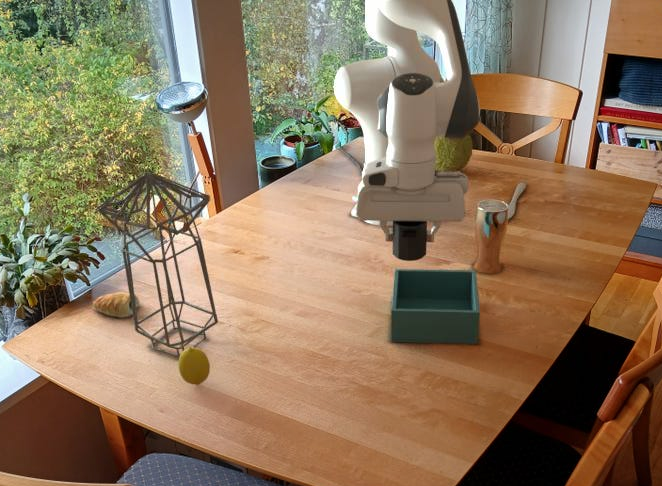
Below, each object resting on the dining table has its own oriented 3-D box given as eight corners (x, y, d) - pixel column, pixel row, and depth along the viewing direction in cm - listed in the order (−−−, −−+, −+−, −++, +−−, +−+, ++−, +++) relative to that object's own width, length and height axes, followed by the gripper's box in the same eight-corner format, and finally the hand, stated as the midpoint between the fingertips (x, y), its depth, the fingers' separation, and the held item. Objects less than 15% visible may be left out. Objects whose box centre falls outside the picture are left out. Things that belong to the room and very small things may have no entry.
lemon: (183, 376, 138) (176, 340, 133) (213, 374, 138) (207, 338, 133) (180, 394, 133) (173, 358, 128) (211, 392, 133) (205, 355, 129)
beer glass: (502, 275, 164) (509, 212, 155) (470, 273, 165) (475, 211, 157) (503, 261, 170) (509, 199, 161) (472, 259, 171) (477, 198, 162)
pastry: (88, 315, 157) (84, 300, 155) (103, 300, 162) (99, 284, 160) (129, 319, 155) (125, 303, 153) (143, 303, 160) (139, 287, 158)
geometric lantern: (180, 314, 156) (149, 152, 136) (236, 336, 148) (212, 167, 128) (123, 350, 145) (80, 180, 125) (180, 376, 138) (144, 199, 118)
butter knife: (530, 183, 205) (519, 181, 206) (507, 223, 185) (496, 221, 186) (529, 185, 205) (519, 183, 206) (507, 225, 185) (495, 223, 186)
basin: (394, 298, 158) (394, 269, 154) (473, 300, 156) (475, 270, 152) (391, 341, 144) (391, 310, 140) (477, 344, 143) (480, 312, 138)
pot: (394, 243, 147) (394, 210, 143) (426, 243, 146) (427, 210, 142) (391, 264, 140) (391, 230, 136) (425, 264, 139) (426, 230, 135)
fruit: (470, 184, 207) (447, 141, 198) (426, 194, 216) (403, 153, 208) (486, 148, 216) (465, 105, 207) (443, 159, 225) (421, 118, 216)
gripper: (468, 164, 135) (464, 234, 143) (357, 164, 137) (358, 232, 145) (469, 177, 130) (465, 248, 138) (353, 177, 132) (355, 247, 140)
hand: (409, 240), depth 142 cm, fingers closed on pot, 6 cm apart
